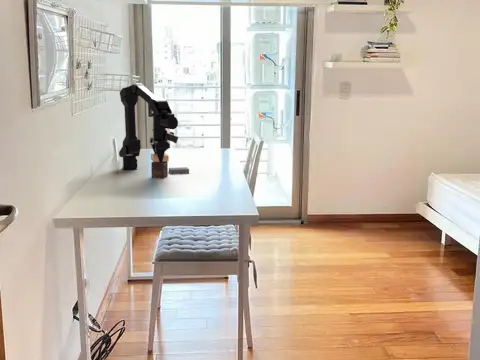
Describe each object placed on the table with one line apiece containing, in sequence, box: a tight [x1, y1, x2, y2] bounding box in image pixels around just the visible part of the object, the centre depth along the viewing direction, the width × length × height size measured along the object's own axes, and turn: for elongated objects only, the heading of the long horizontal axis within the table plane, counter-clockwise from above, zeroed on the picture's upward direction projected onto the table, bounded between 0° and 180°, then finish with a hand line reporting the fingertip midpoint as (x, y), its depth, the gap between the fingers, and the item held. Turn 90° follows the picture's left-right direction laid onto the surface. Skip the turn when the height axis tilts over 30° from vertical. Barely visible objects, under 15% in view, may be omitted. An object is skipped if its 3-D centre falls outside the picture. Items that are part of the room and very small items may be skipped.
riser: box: [168, 166, 190, 175], centre depth 262 cm, size 9×5×2 cm, turn 108°
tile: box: [150, 152, 170, 162], centre depth 249 cm, size 7×7×2 cm
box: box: [150, 161, 169, 179], centre depth 250 cm, size 6×6×7 cm
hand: (159, 160), depth 249 cm, fingers closed on tile, 7 cm apart
